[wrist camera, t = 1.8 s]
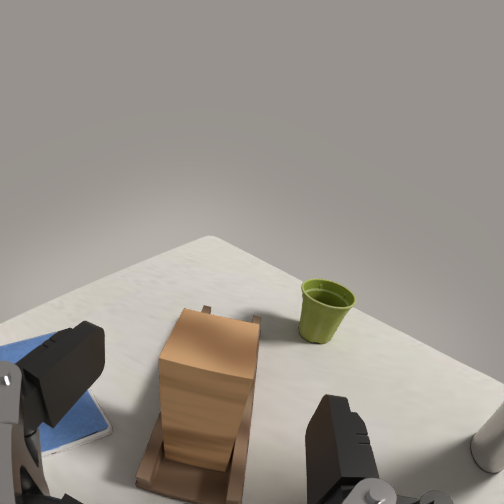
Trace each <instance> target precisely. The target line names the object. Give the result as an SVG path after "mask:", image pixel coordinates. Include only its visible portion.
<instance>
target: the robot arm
mask: <svg viewBox="0 0 504 504" xmlns="http://www.w3.org/2000/svg"><path fill="white" fill-rule="evenodd" d="M104 365H105V334H104V330H103V328H101V327H99V326H96V325H94V324H92V323H90V322H87V321H83V322H81V323H80V324H79V325H77V326H76V327H75V328H73V329H72V328H68V329H64V330H61V331H58V332H57V333H55V334H54V335H53V336H51V337H50V338H49V340H48V339H47V340H46V341H44V342H43V343H42V345H39V346H38V347H36V348H35V349H33V350H32V351H31V352H29V353H28V354H27V355H25V356H24V357H23V358H22V359H20V360H19V361H18V362H16V363H15V364H14V363H12V362H9V361H0V504H83V503H81V502H79V501H77V500H76V499H74V498H72V497H71V496H69V495H67V494H65V495H64V496H63V498H62V499H58V498H55V497H51V496H50V492H49V488H48V485H47V483H46V480H45V477H44V473H43V465H42V456H41V445H40V430H39V426H40V425H41V423H42V422H44V423H45V424H47V425H48V426H50V427H51V428H54V427H55V426H56V425H57V424H58V423H59V421H60V420H61V419H62V418H63V417H64V416H65V415H66V413H67V412H68V411H69V410H70V409H71V408H72V407H73V406H74V404H75V403H76V402H77V401H78V400H79V399H80V398H81V396H82V395H83V394H84V393H85V392H86V391H87V390H88V389H89V388H90V386H91V385H92V384H93V383H94V382H95V381H96V380H97V379H98V378H99V376H100V375H101V373H102V371H103V369H104ZM367 435H368V433H367V429H366V426H365V423H364V421H363V420H362V419H361V418H360V416H359V415H358V414H357V413H355V412H351V411H350V407H349V403H348V399H347V398H346V397H340V396H333V395H327V394H326V395H324V396H323V398H322V400H321V402H320V403H319V405H318V407H317V409H316V411H315V413H314V415H313V416H312V418H311V420H310V422H309V424H308V426H307V430H306V435H305V446H306V470H307V504H453V501H452V500H451V498H450V497H449V496H448V495H447V494H445V493H443V492H441V491H430V492H427V493H426V494H424V495H423V496H422V497H421V498H420V499H415V498H409V497H404V496H399V495H396V493H395V490H394V489H393V487H392V486H391V485H390V484H389V483H387V482H385V481H384V480H381V479H380V478H379V475H378V471H377V467H376V463H375V459H374V455H373V451H372V447H371V445H370V440H369V436H367ZM471 450H472V454H473V457H474V459H475V461H476V462H477V464H478V465H479V466H480V467H481V468H482V469H484V470H485V471H487V472H490V473H497V472H500V471H501V470H503V469H504V402H503V403H502V404H501V406H500V407H499V408H498V409H497V410H496V412H495V413H494V414H493V415H492V416H491V417H490V419H489V420H488V421H487V422H486V423H485V424H484V425H483V426H482V427H481V429H480V430H479V431H478V432H477V433H476V434H475V435H474V437H473V438H472V442H471Z"/></svg>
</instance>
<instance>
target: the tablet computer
mask: <svg viewBox="0 0 504 504" xmlns="http://www.w3.org/2000/svg"><path fill="white" fill-rule="evenodd" d="M55 333H57V332H53V333H49V334H45V335H42V336H38V337H34V338H30V339H26V340H22V341H18V342H15V343H10V344H7V345H3V346H0V361H9V362H12V363H14V364H15V363H16V362H18V361H19V360H20V359H22V358H23V357H24V356H25V355H27V354H28V353H29V352H31V351H32V350H33V349H35V348H36V347H38V346H39V345H42V343H43V342H44V341H46V340H47V339H48V340H49V338H50V337H51V336H53V335H54V334H55ZM39 430H40V445H41V456H42V458H45V457H49V456H52V455H55V454H58V453H61V452H64V451H67V450H70V449H72V448H75V447H78V446H81V445H84V444H86V443H89V442H92V441H94V440H97V439H100V438H102V437H105V436H107V435H109V434H111V433H112V430H113V429H112V425H111V424H110V422H109V421H108V419H107V417H106V416H105V414H104V412H103V411H102V409H101V407H100V406H99V404H98V402H97V401H96V399H95V397H94V396H93V394H92V392H91V390H90V388H89V389H88V390H87V391H86V392H85V393H84V394H83V395H82V396H81V398H80V399H79V400H78V401H77V402H76V403H75V404H74V406H73V407H72V408H71V409H70V410H69V411H68V412H67V413H66V415H65V416H64V417H63V418H62V419H61V420H60V421H59V423H58V424H57V425H56V426H55V427H54V428H51V427H50V426H48V425H47V424H45V423H44V422H42V423H41V425H40V426H39Z"/></svg>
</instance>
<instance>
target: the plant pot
mask: <svg viewBox="0 0 504 504" xmlns="http://www.w3.org/2000/svg"><path fill="white" fill-rule="evenodd" d="M301 289H302V292H303V294H302V297H303V303H302V311H301V318H300V324H299V333H300V335H301V336H302V337H303V338H304V339H306V340H308V341H310V342H318V343H320V344H324V343H327V342H329V341H330V340H331V338H332V337H333V335H334V333H335V332H336V330H337V328H338V326H339V325H340V323H341V321H342V320H343V318H344V316H345V315H346V313H348V311H349V310H350V308H352V307H353V306H354V305H355V303H356V297H355V295H354V294H353V293H352V292H351V291H350V290H349V289H348V288H346V287H344V286H342V285H341V284H338V283H336V282H333V281H330V280H325V279H309V280H307V281H305V282H303V284H302V287H301Z"/></svg>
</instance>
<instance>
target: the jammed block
mask: <svg viewBox="0 0 504 504" xmlns="http://www.w3.org/2000/svg"><path fill="white" fill-rule="evenodd" d="M258 331H259V324H255V323H250V322H245V321H240V320H235V319H230V318H225V317H220V316H216V315H211V314H207V313H202V312H198V311H193V310H189V309H185V308H184V309H183V311H182V313H181V315H180V317H179V319H178V321H177V323H176V325H175V327H174V328H173V330H172V332H171V334H170V336H169V338H168V340H167V342H166V344H165V346H164V348H163V350H162V352H161V354H160V356H159V383H160V403H161V418H162V430H163V441H164V451H165V458H166V459H170V460H173V461H177V462H181V463H185V464H189V465H193V466H198V467H202V468H207V469H212V470H217V471H222V472H225V470H226V467H227V464H228V461H229V458H230V455H231V452H232V448H233V445H234V442H235V439H236V436H237V432H238V429H239V426H240V423H241V419H242V416H243V413H244V409H245V406H246V402H247V399H248V396H249V392H250V389H251V385H252V382H253V377H254V368H255V359H256V349H257V340H258Z"/></svg>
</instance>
